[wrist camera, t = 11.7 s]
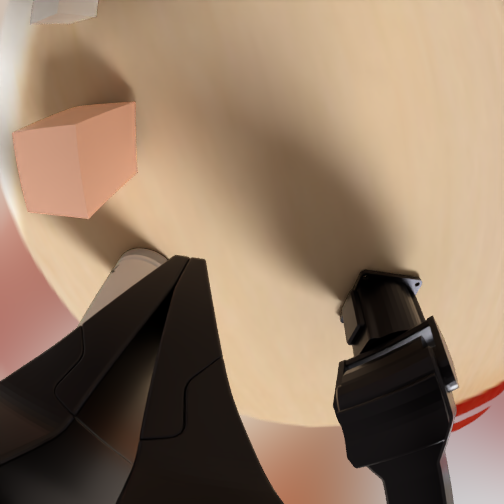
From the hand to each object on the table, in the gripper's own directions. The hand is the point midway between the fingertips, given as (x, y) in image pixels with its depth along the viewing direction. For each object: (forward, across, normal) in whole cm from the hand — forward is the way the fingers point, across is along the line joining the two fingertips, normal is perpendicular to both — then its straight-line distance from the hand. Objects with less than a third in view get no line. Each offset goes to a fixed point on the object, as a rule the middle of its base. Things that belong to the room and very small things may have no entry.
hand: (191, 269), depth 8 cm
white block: (+13, +13, -11) cm, 21 cm away
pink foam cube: (+12, +10, 0) cm, 16 cm away
